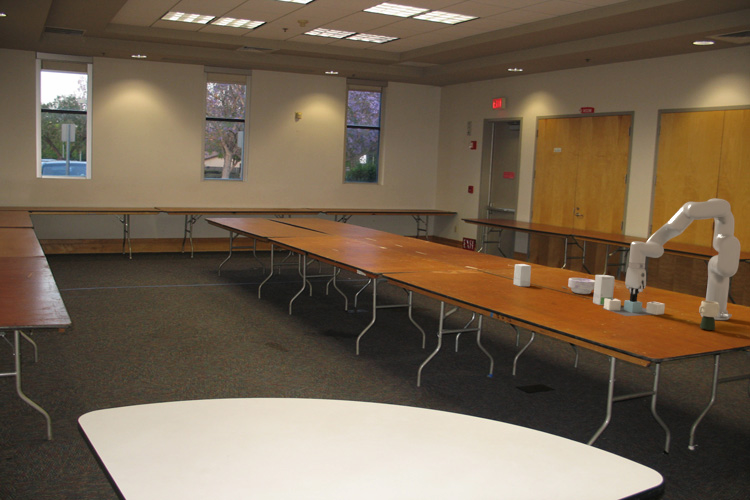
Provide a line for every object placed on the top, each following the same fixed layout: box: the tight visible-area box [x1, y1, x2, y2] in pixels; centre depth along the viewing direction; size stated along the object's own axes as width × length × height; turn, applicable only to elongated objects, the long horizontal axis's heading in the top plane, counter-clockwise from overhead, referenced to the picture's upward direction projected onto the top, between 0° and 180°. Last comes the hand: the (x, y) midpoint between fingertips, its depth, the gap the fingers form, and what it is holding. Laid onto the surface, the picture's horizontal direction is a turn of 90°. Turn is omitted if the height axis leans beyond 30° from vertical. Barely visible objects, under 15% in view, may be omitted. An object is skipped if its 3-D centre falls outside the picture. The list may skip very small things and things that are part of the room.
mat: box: [602, 306, 656, 317], centre depth 337 cm, size 18×24×1 cm
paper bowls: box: [567, 277, 595, 295], centre depth 384 cm, size 15×15×8 cm
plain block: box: [623, 299, 643, 313], centre depth 336 cm, size 6×6×5 cm
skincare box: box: [592, 274, 615, 306], centre depth 352 cm, size 8×7×16 cm
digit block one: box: [645, 301, 666, 315], centre depth 334 cm, size 6×6×5 cm
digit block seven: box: [603, 297, 622, 311], centre depth 339 cm, size 6×6×5 cm
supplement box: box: [513, 263, 532, 287], centre depth 400 cm, size 7×7×13 cm
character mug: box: [698, 300, 720, 331], centre depth 303 cm, size 11×7×13 cm, turn 106°
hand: (633, 301), depth 336 cm, fingers closed
